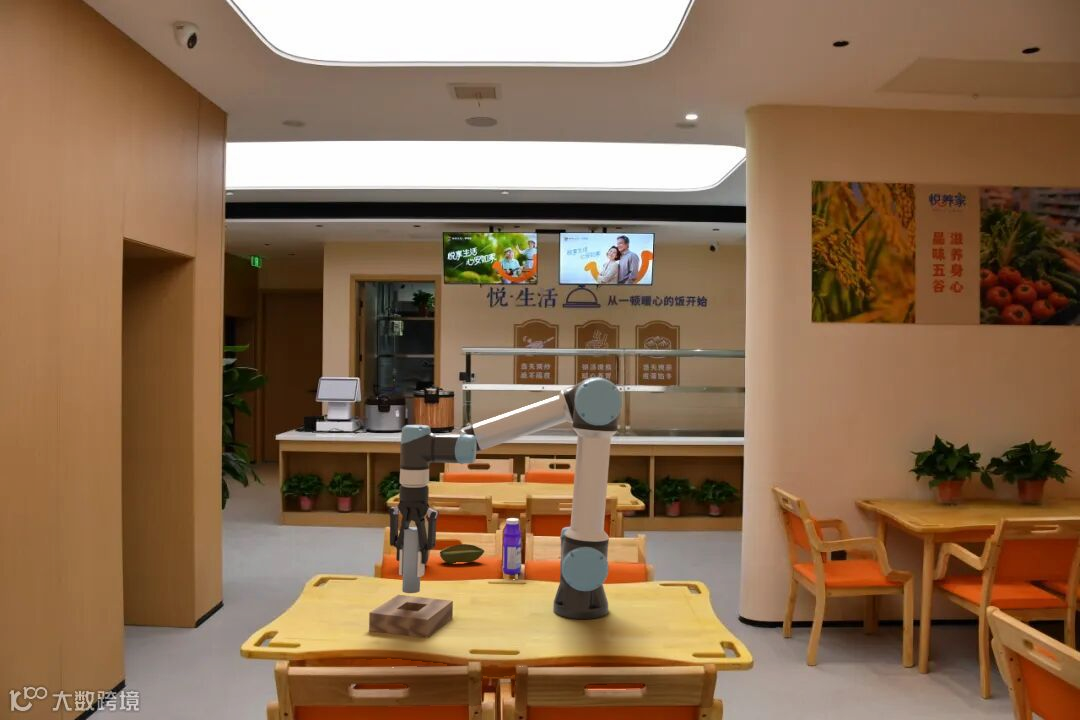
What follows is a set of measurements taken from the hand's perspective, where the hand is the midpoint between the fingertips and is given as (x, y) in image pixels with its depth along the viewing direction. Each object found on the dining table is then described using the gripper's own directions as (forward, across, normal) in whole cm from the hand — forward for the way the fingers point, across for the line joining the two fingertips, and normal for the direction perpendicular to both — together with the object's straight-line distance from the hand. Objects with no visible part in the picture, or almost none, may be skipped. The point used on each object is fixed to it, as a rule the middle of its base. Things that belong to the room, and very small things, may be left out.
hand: (411, 574), depth 202 cm
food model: (+13, +24, -53) cm, 60 cm away
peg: (+4, 0, 0) cm, 4 cm away
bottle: (+13, -9, -55) cm, 57 cm away
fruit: (+13, +10, -61) cm, 63 cm away
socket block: (+13, 0, 0) cm, 13 cm away
